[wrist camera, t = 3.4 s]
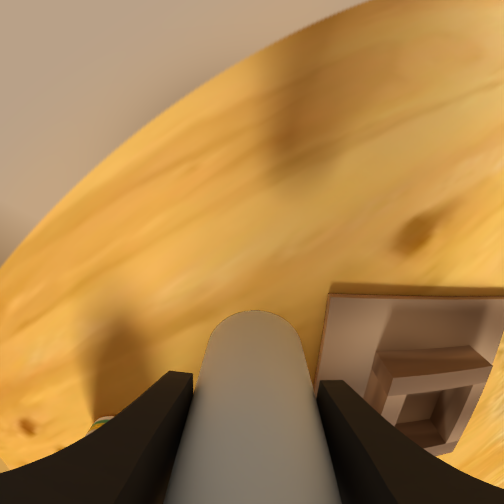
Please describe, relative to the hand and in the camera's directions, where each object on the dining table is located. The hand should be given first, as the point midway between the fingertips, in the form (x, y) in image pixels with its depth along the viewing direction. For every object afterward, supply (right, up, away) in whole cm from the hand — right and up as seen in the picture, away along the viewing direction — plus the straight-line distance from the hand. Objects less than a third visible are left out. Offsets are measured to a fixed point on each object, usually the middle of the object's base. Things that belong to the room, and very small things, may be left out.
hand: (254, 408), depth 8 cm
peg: (0, +1, +3) cm, 3 cm away
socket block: (+11, -6, +11) cm, 16 cm away
